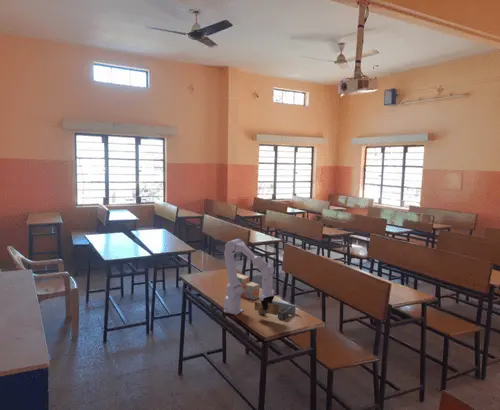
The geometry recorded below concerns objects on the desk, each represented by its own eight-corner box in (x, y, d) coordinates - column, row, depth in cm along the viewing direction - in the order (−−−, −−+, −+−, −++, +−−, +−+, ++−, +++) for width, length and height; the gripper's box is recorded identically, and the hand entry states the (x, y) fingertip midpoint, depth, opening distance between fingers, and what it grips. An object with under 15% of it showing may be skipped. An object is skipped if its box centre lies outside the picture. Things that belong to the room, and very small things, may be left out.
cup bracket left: (258, 313, 230) (258, 307, 229) (263, 309, 236) (263, 303, 235) (264, 315, 228) (264, 308, 227) (269, 311, 234) (269, 304, 233)
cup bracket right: (288, 315, 228) (289, 309, 227) (283, 319, 222) (283, 313, 221) (282, 314, 230) (282, 307, 229) (277, 318, 224) (277, 311, 223)
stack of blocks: (259, 297, 256) (259, 279, 254) (252, 300, 251) (252, 282, 250) (237, 289, 271) (237, 272, 269) (230, 292, 266) (230, 274, 265)
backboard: (260, 308, 237) (260, 301, 236) (264, 306, 241) (264, 298, 241) (292, 316, 226) (292, 308, 226) (295, 313, 231) (295, 305, 230)
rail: (254, 309, 223) (254, 301, 222) (257, 307, 226) (257, 299, 225) (276, 315, 216) (276, 306, 215) (279, 313, 219) (279, 304, 218)
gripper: (267, 290, 211) (267, 314, 212) (279, 283, 223) (278, 306, 225) (256, 288, 214) (255, 311, 216) (268, 281, 227) (268, 303, 228)
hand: (266, 308), depth 221 cm, fingers closed on rail, 4 cm apart
